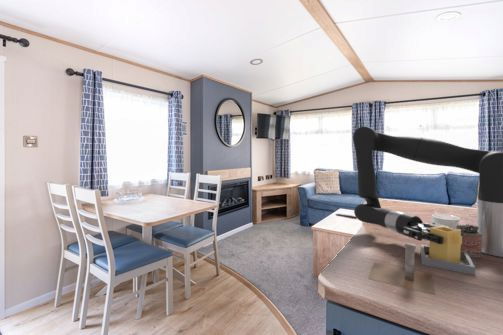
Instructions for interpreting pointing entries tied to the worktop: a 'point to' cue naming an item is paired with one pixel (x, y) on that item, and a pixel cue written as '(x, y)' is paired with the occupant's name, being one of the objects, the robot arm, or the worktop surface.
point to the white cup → (446, 220)
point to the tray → (463, 266)
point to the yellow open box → (446, 244)
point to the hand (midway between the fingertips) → (452, 239)
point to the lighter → (471, 240)
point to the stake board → (404, 273)
